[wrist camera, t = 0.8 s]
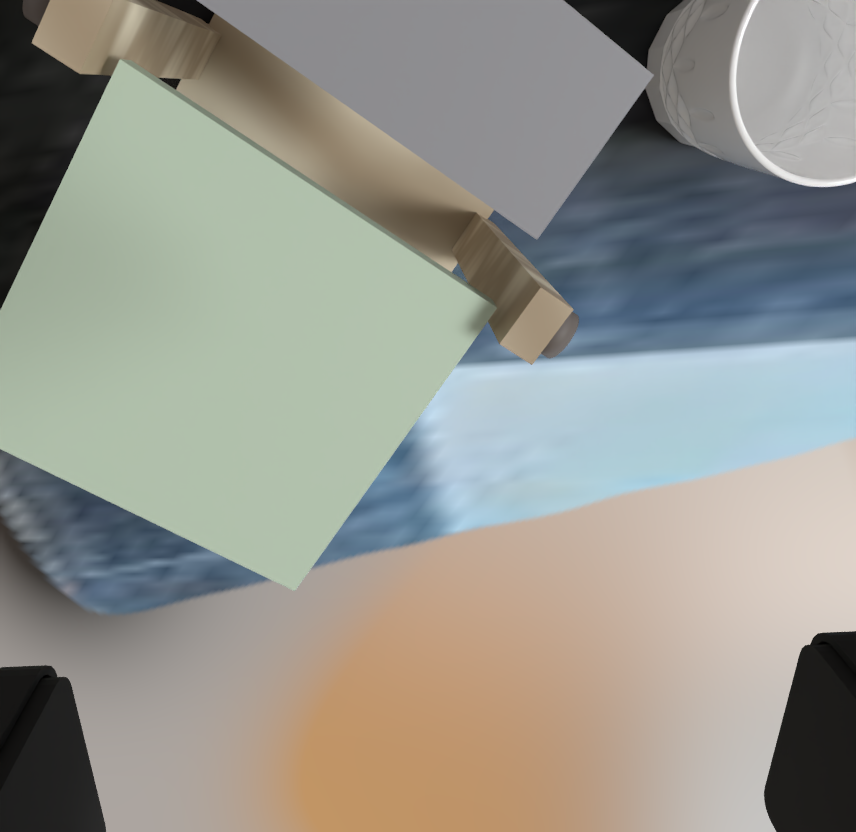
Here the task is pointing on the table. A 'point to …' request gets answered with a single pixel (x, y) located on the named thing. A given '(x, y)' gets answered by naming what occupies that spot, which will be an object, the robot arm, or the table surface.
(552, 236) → the table surface
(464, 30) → the trapdoor
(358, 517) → the table surface
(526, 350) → the frame
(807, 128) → the white cup
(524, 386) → the table surface
